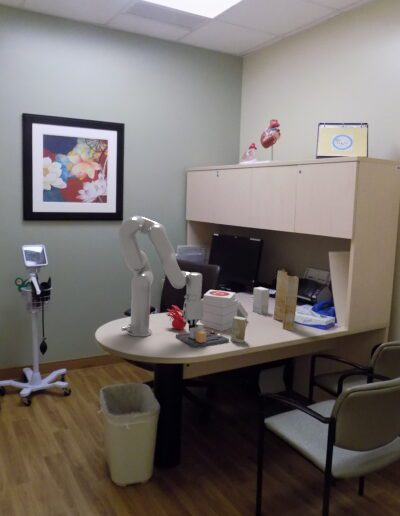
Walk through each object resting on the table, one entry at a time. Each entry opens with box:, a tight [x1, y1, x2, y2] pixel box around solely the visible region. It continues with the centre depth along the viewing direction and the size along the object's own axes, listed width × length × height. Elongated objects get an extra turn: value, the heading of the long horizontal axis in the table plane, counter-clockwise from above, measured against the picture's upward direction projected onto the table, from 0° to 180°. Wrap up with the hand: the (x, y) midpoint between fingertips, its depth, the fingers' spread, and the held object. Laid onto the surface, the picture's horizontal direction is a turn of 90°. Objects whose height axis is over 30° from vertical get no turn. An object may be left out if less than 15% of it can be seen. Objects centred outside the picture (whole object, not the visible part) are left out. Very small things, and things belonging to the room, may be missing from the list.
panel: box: [175, 329, 230, 349], centre depth 240 cm, size 21×17×2 cm
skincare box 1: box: [230, 316, 248, 344], centre depth 241 cm, size 6×4×12 cm
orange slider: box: [196, 331, 206, 343], centre depth 232 cm, size 4×4×4 cm
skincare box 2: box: [252, 286, 270, 315], centre depth 298 cm, size 8×7×16 cm
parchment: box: [273, 269, 299, 331], centre depth 275 cm, size 23×6×30 cm, turn 8°
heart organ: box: [165, 304, 188, 331], centre depth 255 cm, size 10×12×12 cm
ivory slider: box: [195, 322, 204, 331], centre depth 246 cm, size 4×4×4 cm
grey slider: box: [188, 327, 200, 339], centre depth 237 cm, size 4×4×4 cm
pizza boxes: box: [199, 289, 249, 332], centre depth 270 cm, size 19×30×18 cm, turn 144°
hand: (191, 331), depth 243 cm, fingers closed
